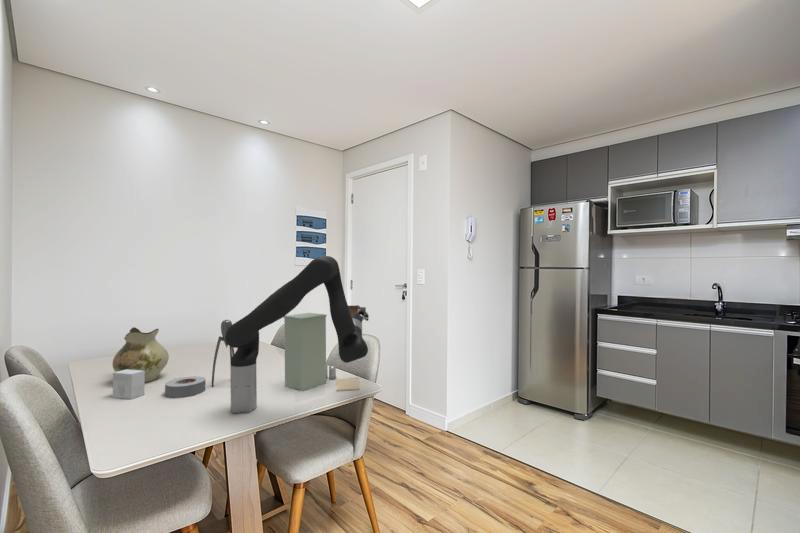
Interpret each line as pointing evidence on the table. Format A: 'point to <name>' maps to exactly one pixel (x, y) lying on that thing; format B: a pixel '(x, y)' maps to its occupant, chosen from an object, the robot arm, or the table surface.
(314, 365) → the tall sage green pillar
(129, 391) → the skincare box
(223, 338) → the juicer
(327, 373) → the spacer
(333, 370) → the cylinder
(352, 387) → the mat
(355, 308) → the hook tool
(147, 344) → the green ceramic vase
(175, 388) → the tape roll
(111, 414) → the table surface
